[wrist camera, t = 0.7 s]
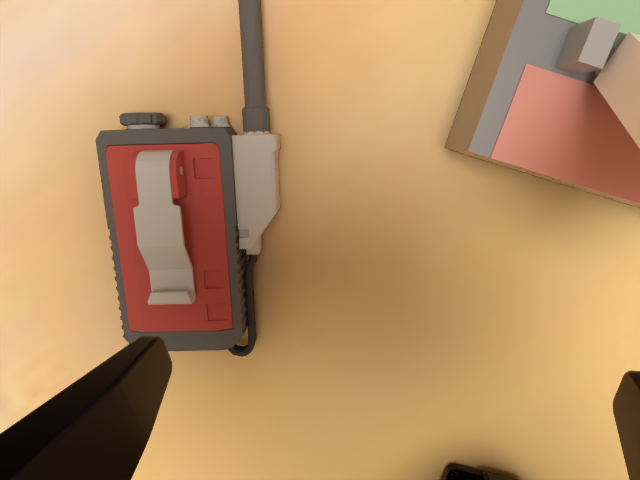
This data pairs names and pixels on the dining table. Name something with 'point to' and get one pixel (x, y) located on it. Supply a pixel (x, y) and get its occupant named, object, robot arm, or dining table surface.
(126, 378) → the robot arm
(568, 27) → the breaker housing
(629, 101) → the breaker lever
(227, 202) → the walkie-talkie
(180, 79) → the dining table surface
